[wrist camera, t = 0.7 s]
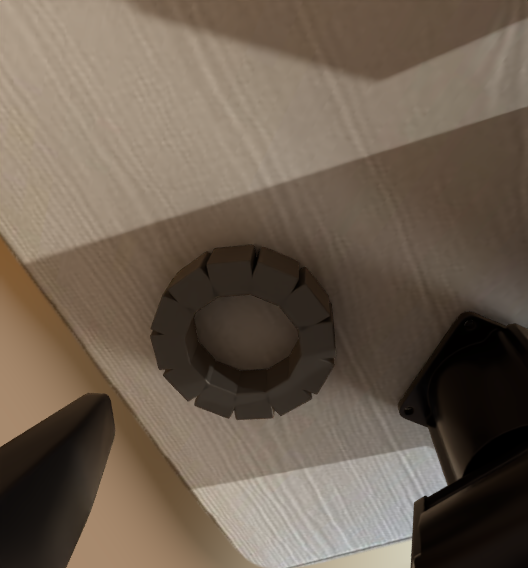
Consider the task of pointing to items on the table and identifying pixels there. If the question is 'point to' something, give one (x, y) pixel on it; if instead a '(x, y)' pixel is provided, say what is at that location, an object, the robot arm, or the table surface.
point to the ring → (227, 380)
